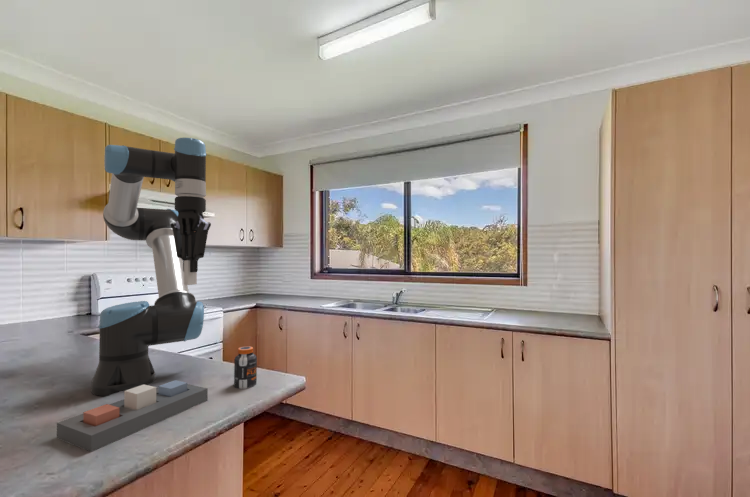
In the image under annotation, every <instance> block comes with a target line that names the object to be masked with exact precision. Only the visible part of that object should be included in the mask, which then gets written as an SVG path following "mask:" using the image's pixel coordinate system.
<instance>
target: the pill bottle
mask: <svg viewBox="0 0 750 497" xmlns="http://www.w3.org/2000/svg"><path fill="white" fill-rule="evenodd" d="M257 357H258V356H257V355H256V354H254V347H253V346H250V345H249V346H247V345H246V346H240V347H238V349H237V355H235V357H234V363H233V365H234V366H233V368H234V369H233V370H234V371H233V377H234V378H233V382H234V383H233V387H234V388H236V389H239V390H240V389H242V390H243V389H249V388H252V387H255V386H256V385H257V375H258V374H257V372H258V368H257V367H258V360H257V359H258V358H257Z"/></svg>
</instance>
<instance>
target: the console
mask: <svg viewBox="0 0 750 497" xmlns="http://www.w3.org/2000/svg"><path fill="white" fill-rule="evenodd" d="M208 400H209V399H208V388H207V387H202V386H199V385H194V384H190V383H187V391H185V392H183V393H180V394H177V395H175V396H172V397H167V396H163V395H159V386H157V387H156V403H154V404H152V405H149V406H147V407H144V408H141V409H139V410H136V411H135V410H132V409H129V408H125V407H124V398H123V399H121V400H118V401H116V402H112V403H109V404H108V405H112V406H115V407H119V417H118V418H116V419H113V420H111V421H108V422H105V423H103V424H100V425H98V426H95V427H94V426H91V425H89V424H86V423H83V413H81V414H78V415H74V416H73V417H70V418H67V419H64V420H61V421H58V422H56V439H58V440H60V441H63V442H65V443H69V444H70V445H73V446H76V447H78V448H81V449H83V450H86V451H88V452H91V453H92V452H94V451H97V450H99V449H101V448H103V447H106V446H107V445H111V444H112V443H114V442H117V441H119V440H121V439H124V438H126V437H128V436H131V435H133V434H135V433H138V432H139V431H142V430H144V429H146V428H148V427H151V426H154V425H156V424H158V423H161V422H163V421H165V420H167V419H169V418H171V417H174V416H177V415H178V414H181V413H183V412H185V411H187V410H190V409H191V408H194V407H196V406H198V405H201V404H203V403H205V402H208Z"/></svg>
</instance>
